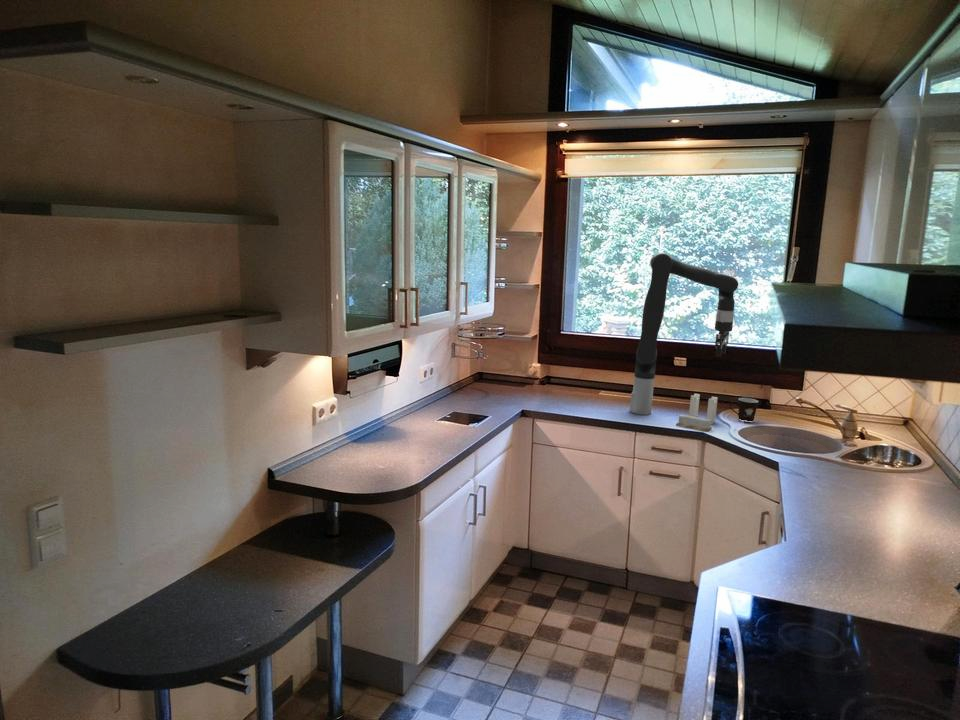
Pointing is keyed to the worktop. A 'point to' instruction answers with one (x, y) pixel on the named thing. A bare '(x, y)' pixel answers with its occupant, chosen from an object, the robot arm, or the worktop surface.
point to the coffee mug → (746, 408)
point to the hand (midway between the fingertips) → (720, 355)
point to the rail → (694, 421)
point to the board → (694, 427)
